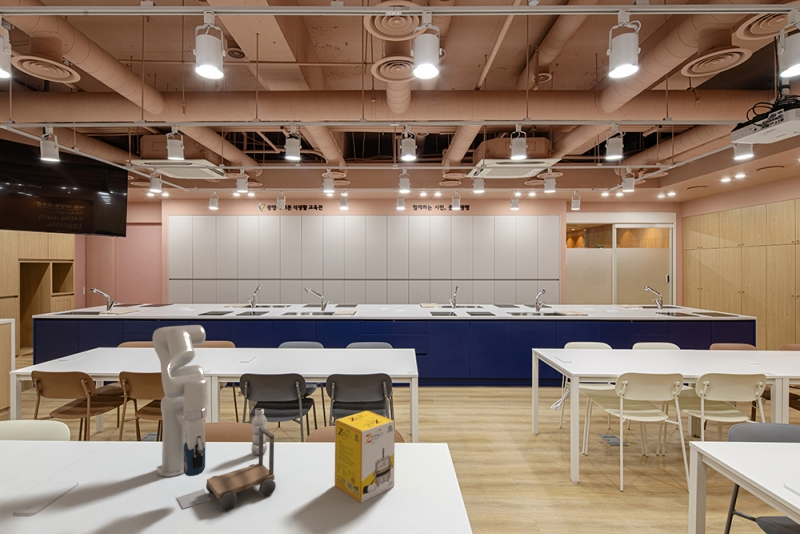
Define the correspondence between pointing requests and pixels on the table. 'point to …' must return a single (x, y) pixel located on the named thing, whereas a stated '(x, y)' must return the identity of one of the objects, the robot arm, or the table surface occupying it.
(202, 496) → the mat
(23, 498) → the table surface
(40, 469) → the table surface
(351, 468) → the packaging box
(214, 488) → the trolley
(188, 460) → the soda can
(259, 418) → the plastic bottle
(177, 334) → the robot arm
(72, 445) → the table surface
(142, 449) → the table surface
